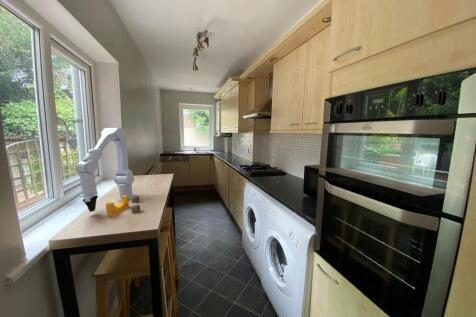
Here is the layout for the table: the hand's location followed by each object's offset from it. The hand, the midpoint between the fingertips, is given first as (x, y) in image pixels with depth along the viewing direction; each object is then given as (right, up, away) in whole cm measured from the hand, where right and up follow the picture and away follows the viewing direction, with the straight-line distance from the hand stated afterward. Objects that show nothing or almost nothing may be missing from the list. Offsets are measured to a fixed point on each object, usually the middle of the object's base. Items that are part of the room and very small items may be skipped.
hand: (92, 210), depth 96 cm
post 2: (+21, -1, +3) cm, 21 cm away
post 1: (+13, +1, +16) cm, 21 cm away
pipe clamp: (+10, -1, +4) cm, 11 cm away
